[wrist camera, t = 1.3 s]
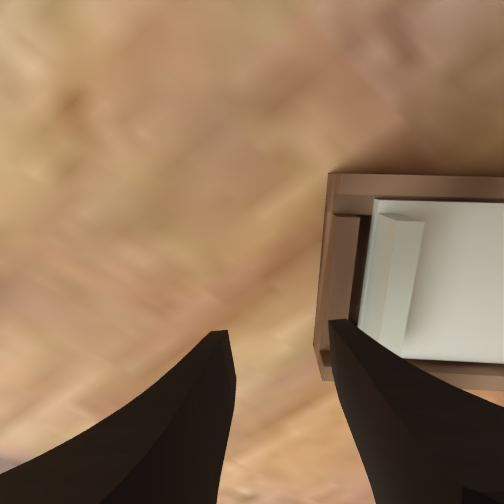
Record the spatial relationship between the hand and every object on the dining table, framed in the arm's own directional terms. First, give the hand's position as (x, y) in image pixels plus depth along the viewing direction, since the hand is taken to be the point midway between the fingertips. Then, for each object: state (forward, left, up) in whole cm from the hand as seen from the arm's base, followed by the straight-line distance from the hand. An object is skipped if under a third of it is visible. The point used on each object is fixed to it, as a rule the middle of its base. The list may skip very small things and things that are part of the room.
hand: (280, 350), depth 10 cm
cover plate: (-11, 0, -8) cm, 13 cm away
